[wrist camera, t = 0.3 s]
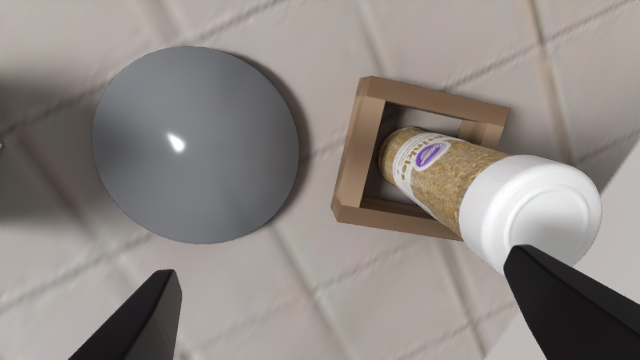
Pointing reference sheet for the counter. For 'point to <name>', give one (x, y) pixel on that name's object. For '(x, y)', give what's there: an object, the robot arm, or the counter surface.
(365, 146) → the walnut socket
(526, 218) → the sprinkles bottle
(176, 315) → the robot arm
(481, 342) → the counter surface
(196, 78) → the slate plate
